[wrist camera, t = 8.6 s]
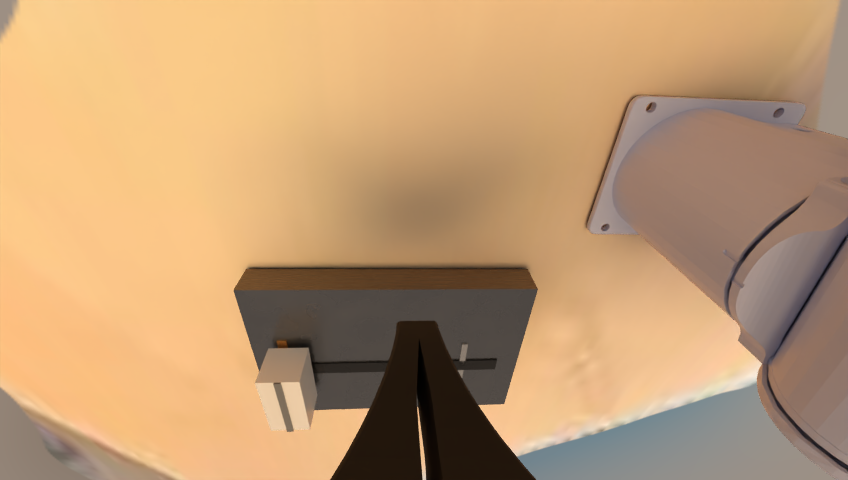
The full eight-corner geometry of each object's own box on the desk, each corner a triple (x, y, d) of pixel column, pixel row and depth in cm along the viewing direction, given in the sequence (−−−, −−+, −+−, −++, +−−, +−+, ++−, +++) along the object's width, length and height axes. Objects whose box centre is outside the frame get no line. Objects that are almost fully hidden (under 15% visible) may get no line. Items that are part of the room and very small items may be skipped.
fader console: (527, 269, 23) (538, 290, 21) (498, 382, 30) (504, 405, 28) (246, 269, 22) (232, 291, 20) (279, 387, 28) (271, 412, 26)
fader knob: (308, 347, 22) (299, 383, 20) (317, 394, 25) (309, 430, 23) (268, 348, 22) (254, 384, 20) (281, 395, 25) (270, 432, 23)
